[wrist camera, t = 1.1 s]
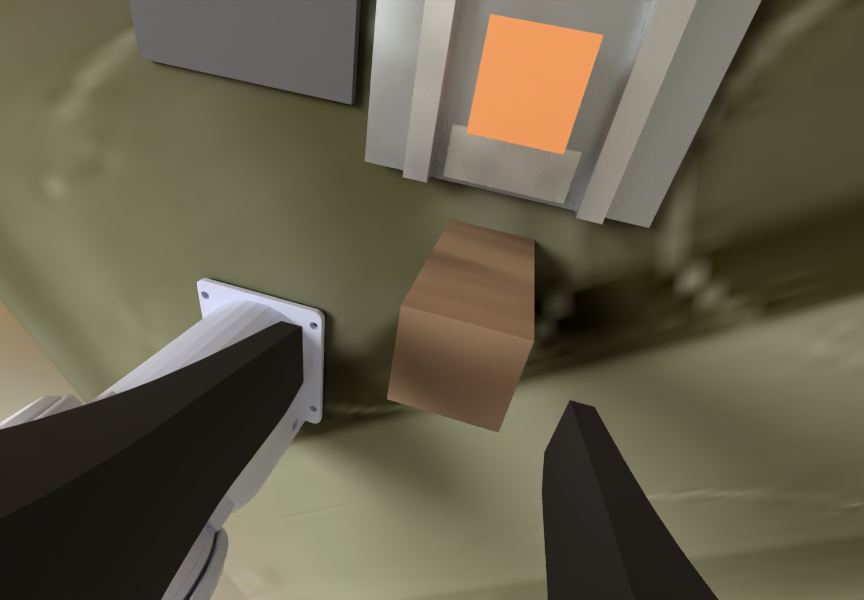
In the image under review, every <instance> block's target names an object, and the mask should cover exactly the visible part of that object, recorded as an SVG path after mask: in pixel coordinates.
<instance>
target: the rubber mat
mask: <svg viewBox="0 0 864 600" xmlns="http://www.w3.org/2000/svg"><path fill="white" fill-rule="evenodd" d="M129 3H130V8H131V13H132V18H133V24H134V29H135V34H136V39H137V44H138V49H139V54H140V58H141V59H146V60H150V61H155V62H159V63H164V64H168V65H173V66H178V67H182V68H187V69H191V70H196V71H200V72H205V73H210V74H214V75H219V76H223V77H228V78H232V79H237V80H241V81H246V82H251V83H255V84H260V85H264V86H269V87H273V88H278V89H282V90H287V91H292V92H296V93H301V94H305V95H310V96H314V97H319V98H324V99H328V100H333V101H337V102H342V103H346V104H351V105H352V104H355V95H356V78H357V60H358V42H359V25H360V7H361V0H129Z"/></svg>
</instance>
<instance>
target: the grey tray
mask: <svg viewBox="0 0 864 600" xmlns="http://www.w3.org/2000/svg"><path fill="white" fill-rule="evenodd" d="M760 2H761V0H377V6H376V19H375V33H374V46H373V59H372V73H371V86H370V100H369V113H368V127H367V140H366V154H365V161H366V162H370V163H374V164H378V165H383V166H387V167H391V168H395V169H400V170H403V177H405V178H409V179H413V180H417V181H421V182H426V183H427V182H428V180H429V179H430V178H431V177H434V178H438V179H442V180H447V181H451V182H455V183H459V184H464V185H468V186H472V187H477V188H481V189H485V190H489V191H494V192H498V193H502V194H506V195H511V196H515V197H519V198H523V199H528V200H532V201H536V202H541V203H545V204H549V205H553V206H558V207H562V208H566V209H570V210H574V213H575V216H576V218H578V219H582V220H586V221H591V222H595V223H599V224H602V223H603V221H604V218H609V219H613V220H617V221H622V222H626V223H630V224H634V225H639V226H643V227H647V228H649V227H650V225H651V223H652V221H653V219H654V217H655V215H656V213H657V211H658V209H659V207H660V205H661V203H662V200H663V198H664V196H665V194H666V192H667V190H668V188H669V186H670V184H671V182H672V180H673V178H674V176H675V174H676V172H677V170H678V168H679V166H680V164H681V162H682V160H683V158H684V156H685V154H686V152H687V150H688V148H689V146H690V144H691V142H692V140H693V138H694V136H695V134H696V132H697V130H698V128H699V126H700V124H701V122H702V120H703V118H704V116H705V114H706V111H707V109H708V107H709V105H710V103H711V101H712V99H713V97H714V95H715V93H716V91H717V89H718V87H719V85H720V83H721V81H722V79H723V77H724V75H725V73H726V71H727V69H728V67H729V65H730V63H731V61H732V59H733V57H734V55H735V53H736V51H737V49H738V47H739V45H740V43H741V41H742V39H743V37H744V35H745V33H746V31H747V29H748V27H749V25H750V22H751V20H752V18H753V16H754V14H755V12H756V10H757V8H758V6H759V4H760ZM490 14H494V15H499V16H505V17H510V18H515V19H521V20H526V21H531V22H537V23H542V24H547V25H553V26H558V27H564V28H569V29H574V30H580V31H585V32H590V33H596V34H601V35H603V38H602V41H601V44H600V47H599V50H598V53H597V56H596V59H595V62H594V65H593V68H592V71H591V74H590V77H589V80H588V83H587V86H586V89H585V92H584V95H583V98H582V101H581V104H580V107H579V110H578V113H577V116H576V119H575V122H574V125H573V128H572V131H571V134H570V137H569V140H568V143H567V146H566V149H565V152H564V154H559V153H555V152H550V151H545V150H541V149H536V148H532V147H527V146H523V145H518V144H514V143H509V142H505V141H500V140H495V139H491V138H486V137H482V136H477V135H473V134H468V133H466V132H467V127H468V122H469V117H470V112H471V107H472V102H473V97H474V92H475V87H476V82H477V78H478V73H479V68H480V63H481V58H482V53H483V48H484V43H485V38H486V33H487V28H488V23H489V18H490Z"/></svg>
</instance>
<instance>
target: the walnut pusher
mask: <svg viewBox="0 0 864 600" xmlns="http://www.w3.org/2000/svg"><path fill="white" fill-rule="evenodd" d="M533 343H534V240H532V239H528V238H524V237H520V236H516V235H512V234H508V233H504V232H500V231H496V230H491V229H487V228H483V227H479V226H475V225H471V224H467V223H463V222H459V221H455V220H451V219H450V221H449V222H448V224H447V226H446V228H445V229H444V231H443V233H442V235H441V236H440V238H439V240H438V242H437V243H436V245H435V247H434V249H433V250H432V252H431V254H430V255H429V257H428V259H427V261H426V262H425V264H424V266H423V268H422V269H421V271H420V273H419V275H418V276H417V278H416V280H415V282H414V283H413V285H412V287H411V289H410V290H409V292H408V294H407V295H406V297H405V299H404V301H403V302H402V304H401V309H400V315H399V322H398V328H397V335H396V342H395V348H394V355H393V362H392V368H391V375H390V382H389V388H388V395H387V399H388V400H391V401H395V402H398V403H402V404H405V405H408V406H412V407H415V408H418V409H422V410H425V411H428V412H432V413H435V414H438V415H442V416H445V417H448V418H452V419H455V420H458V421H462V422H465V423H468V424H472V425H475V426H479V427H482V428H485V429H489V430H492V431H495V432H499V430H500V427H501V425H502V422H503V420H504V417H505V414H506V412H507V409H508V407H509V404H510V402H511V399H512V397H513V394H514V391H515V389H516V386H517V384H518V381H519V379H520V376H521V374H522V371H523V369H524V366H525V363H526V361H527V358H528V356H529V353H530V351H531V348H532V346H533Z"/></svg>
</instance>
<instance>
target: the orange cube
mask: <svg viewBox="0 0 864 600" xmlns="http://www.w3.org/2000/svg"><path fill="white" fill-rule="evenodd" d="M602 38H603V35H601V34H596V33H590V32H585V31H580V30H574V29H569V28H564V27H558V26H553V25H547V24H542V23H537V22H531V21H526V20H521V19H515V18H510V17H505V16H499V15H494V14H490V18H489V23H488V28H487V33H486V38H485V43H484V48H483V53H482V58H481V63H480V68H479V73H478V78H477V82H476V87H475V92H474V97H473V102H472V107H471V112H470V117H469V122H468V127H467V132H466V133H468V134H473V135H477V136H482V137H486V138H491V139H495V140H500V141H505V142H509V143H514V144H518V145H523V146H527V147H532V148H536V149H541V150H545V151H550V152H555V153H559V154H564V152H565V149H566V146H567V143H568V140H569V137H570V134H571V131H572V128H573V125H574V122H575V119H576V116H577V113H578V110H579V107H580V104H581V101H582V98H583V95H584V92H585V89H586V86H587V83H588V80H589V77H590V74H591V71H592V68H593V65H594V62H595V59H596V56H597V53H598V50H599V47H600V44H601V41H602Z"/></svg>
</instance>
